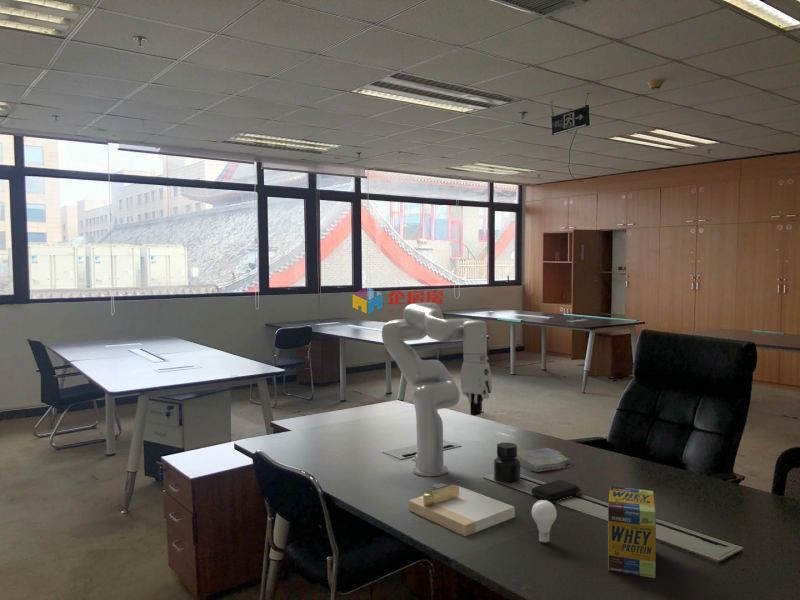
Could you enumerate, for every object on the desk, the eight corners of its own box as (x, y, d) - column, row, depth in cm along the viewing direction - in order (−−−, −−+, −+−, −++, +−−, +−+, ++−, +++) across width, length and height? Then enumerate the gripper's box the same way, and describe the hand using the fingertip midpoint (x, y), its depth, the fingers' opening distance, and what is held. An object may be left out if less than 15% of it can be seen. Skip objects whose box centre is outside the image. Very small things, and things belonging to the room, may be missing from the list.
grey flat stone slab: (579, 468, 220) (548, 453, 236) (579, 456, 220) (548, 442, 235) (534, 478, 212) (506, 462, 227) (535, 466, 211) (506, 450, 227)
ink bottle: (524, 477, 207) (524, 443, 207) (518, 485, 199) (517, 450, 199) (496, 474, 211) (496, 440, 211) (489, 481, 203) (489, 446, 203)
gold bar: (428, 506, 173) (428, 496, 173) (421, 503, 175) (421, 493, 175) (460, 496, 181) (459, 486, 180) (452, 493, 183) (452, 484, 183)
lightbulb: (528, 537, 159) (528, 496, 159) (551, 536, 160) (551, 495, 159) (536, 548, 153) (535, 505, 152) (560, 547, 153) (560, 504, 153)
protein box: (607, 571, 140) (607, 506, 140) (609, 544, 155) (609, 485, 154) (656, 579, 136) (656, 512, 136) (653, 550, 151) (653, 489, 150)
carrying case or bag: (553, 506, 182) (586, 496, 190) (553, 496, 182) (586, 486, 190) (528, 496, 191) (560, 486, 199) (528, 486, 191) (560, 477, 199)
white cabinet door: (408, 510, 179) (408, 488, 179) (456, 494, 192) (456, 474, 192) (465, 536, 161) (464, 512, 160) (514, 517, 173) (514, 494, 173)
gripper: (500, 359, 190) (501, 416, 190) (466, 355, 201) (467, 409, 202) (484, 361, 185) (484, 420, 186) (450, 357, 197) (451, 412, 197)
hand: (475, 414), depth 194 cm, fingers closed
